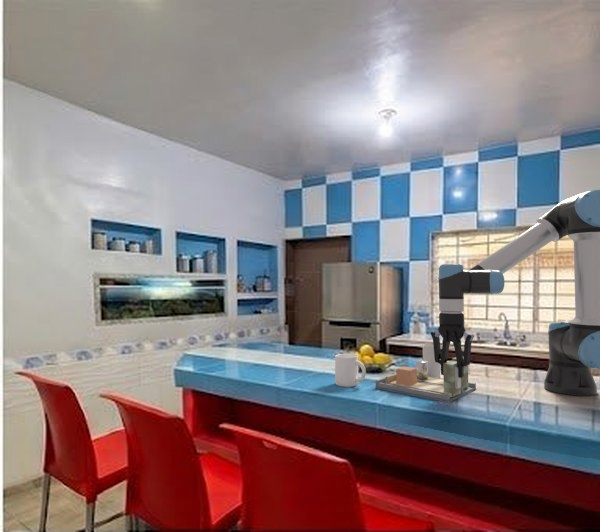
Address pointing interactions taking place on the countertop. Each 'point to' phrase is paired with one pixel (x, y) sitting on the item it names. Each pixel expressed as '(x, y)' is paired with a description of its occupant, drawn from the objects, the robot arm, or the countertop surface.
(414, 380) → the terracotta cube
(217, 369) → the countertop surface
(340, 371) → the mug
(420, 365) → the tin can
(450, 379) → the strip
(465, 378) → the strip
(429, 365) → the grey bookend
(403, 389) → the lane board
